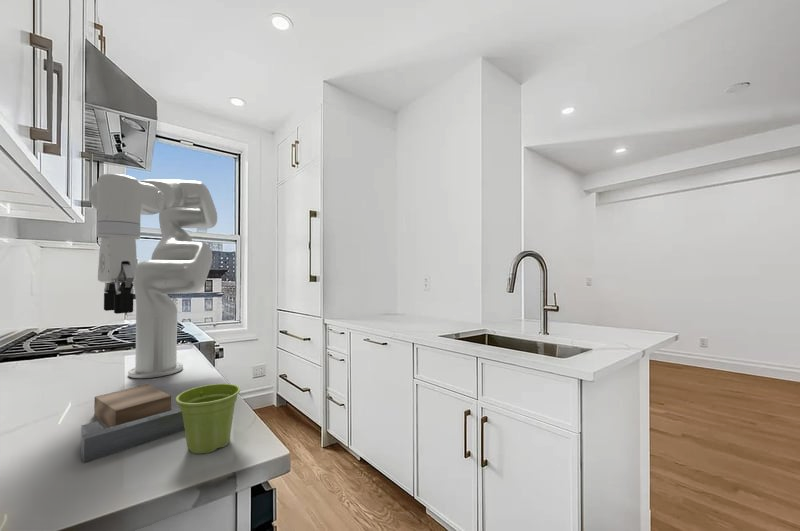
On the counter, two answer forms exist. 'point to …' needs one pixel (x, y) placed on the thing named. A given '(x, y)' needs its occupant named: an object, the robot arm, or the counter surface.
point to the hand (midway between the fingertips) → (118, 310)
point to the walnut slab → (131, 405)
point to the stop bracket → (127, 434)
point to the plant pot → (208, 415)
